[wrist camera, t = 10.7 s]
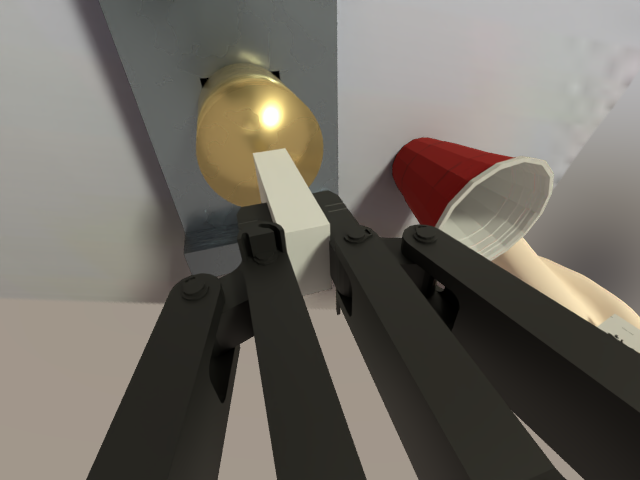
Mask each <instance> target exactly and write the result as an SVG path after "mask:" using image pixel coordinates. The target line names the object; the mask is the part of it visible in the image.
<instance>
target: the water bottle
mask: <svg viewBox="0 0 640 480" xmlns="http://www.w3.org/2000/svg"><path fill="white" fill-rule="evenodd" d="M492 262H493V263H495V264H496V265H498V266H500V267H501V268H503V269H504V270H506V271H508V272H509V273H511V274H512V275H514V276H516V277H517V278H519V279H521V280H522V281H524V282H525V283H527V284H529V285H530V286H532V287H533V288H535V289H537V290H538V291H540V292H541V293H543V294H545V295H546V296H548V297H549V298H551V299H553V300H554V301H556V302H558V303H559V304H561V305H562V306H564V307H566V308H567V309H569V310H570V311H572V312H574V313H575V314H577V315H578V316H580V317H582V318H583V319H585V320H586V321H588V322H590V323H591V324H593V325H595V326H596V327H598V328H599V329H601V330H603V331H604V332H606V333H607V334H609V335H611V336H612V337H614V338H615V339H617V340H619V341H620V342H622V343H623V344H625V345H627V346H628V347H630V348H632V349H633V350H635V351H636V352H638V353H640V317H639V316H638V315H637V314H636V313H635V312H634V311H633V310H632V309H631V308H630V307H629V306H628V305H627V304H625V303H624V302H623V301H622V300H620V299H619V298H617V297H616V296H615V295H613V294H611V293H610V292H608V291H607V290H606V289H604V288H602V287H601V286H599V285H598V284H596V283H595V282H593V281H592V280H590V279H589V278H587V277H585V276H584V275H581V274H580V273H577V272H575V271H573V270H570V269H568V268H566V267H563V266H561V265H559V264H557V263H555V262H553V261H551V260H548V259H545V258H543V257H540V256H537V254H536V253H535V252H534V251H533V250H532V248H531V247H530V246H529V245H528V243H527V242H526V241H525V240H524V238H523V237H522V238H521V239H520V240H519V241H518V242H517V243H515V244H514V245H513V246H512V247H511V248H510V249H509V250H508V251H506V252H505V253H503V254H501V255H500V256H498V257H497V258H495V259H493V260H492Z"/></svg>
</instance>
